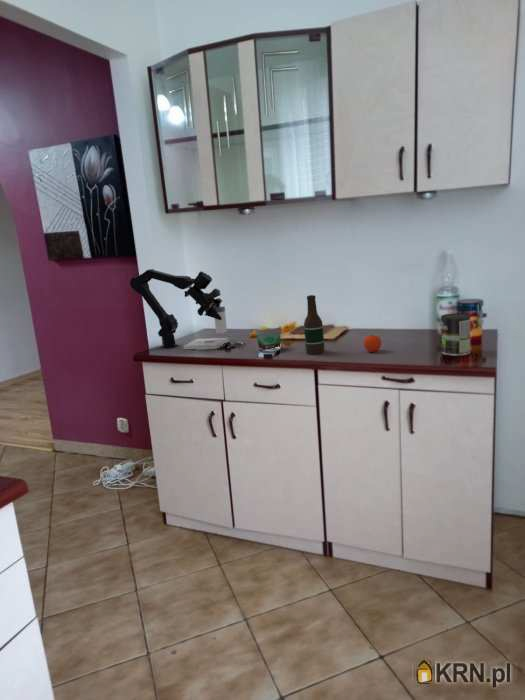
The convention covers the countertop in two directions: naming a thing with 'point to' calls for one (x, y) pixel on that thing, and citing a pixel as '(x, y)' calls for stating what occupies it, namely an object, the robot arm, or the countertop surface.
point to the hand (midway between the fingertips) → (222, 318)
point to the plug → (221, 323)
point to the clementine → (372, 343)
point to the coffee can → (455, 334)
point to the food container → (268, 338)
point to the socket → (206, 343)
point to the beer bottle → (313, 329)
